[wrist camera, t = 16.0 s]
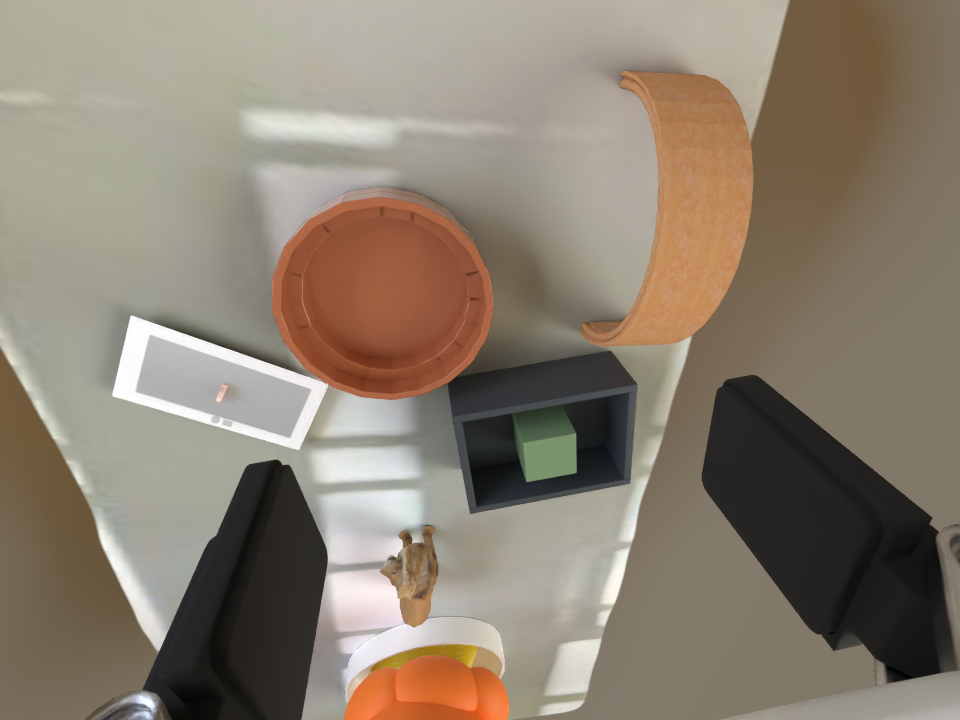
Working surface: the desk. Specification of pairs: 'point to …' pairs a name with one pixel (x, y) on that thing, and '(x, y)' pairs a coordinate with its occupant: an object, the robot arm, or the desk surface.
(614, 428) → the bin
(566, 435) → the block
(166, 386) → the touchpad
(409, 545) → the lion figurine
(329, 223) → the bowl
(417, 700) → the potted cactus
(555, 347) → the desk surface
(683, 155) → the arch
